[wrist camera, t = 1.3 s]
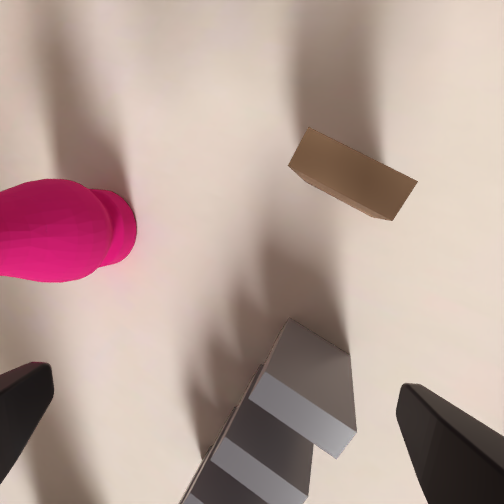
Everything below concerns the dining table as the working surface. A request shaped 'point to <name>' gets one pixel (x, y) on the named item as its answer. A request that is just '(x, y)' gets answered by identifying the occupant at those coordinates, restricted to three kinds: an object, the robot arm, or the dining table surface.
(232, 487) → the domino
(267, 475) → the domino
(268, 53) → the dining table surface
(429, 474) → the robot arm
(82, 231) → the pepper mill
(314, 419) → the domino
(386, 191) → the domino
